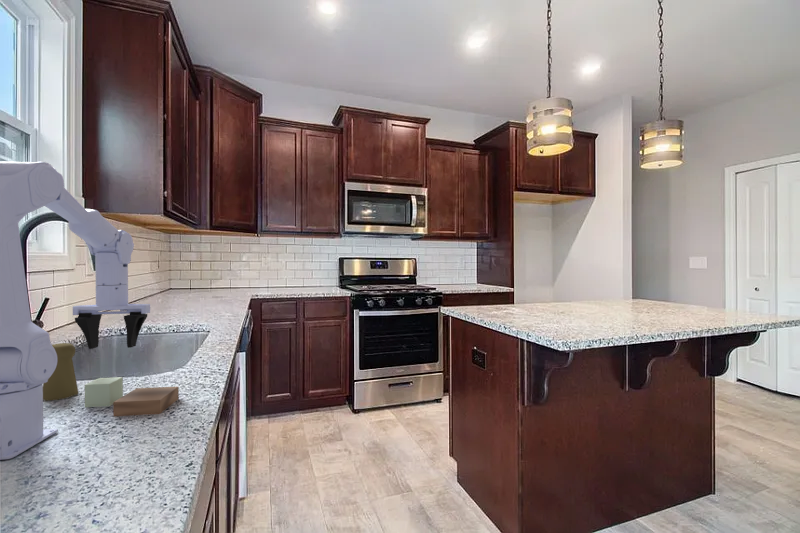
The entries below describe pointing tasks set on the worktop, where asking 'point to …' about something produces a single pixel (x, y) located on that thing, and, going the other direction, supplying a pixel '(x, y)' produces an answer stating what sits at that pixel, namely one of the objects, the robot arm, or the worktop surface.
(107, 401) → the sage cube
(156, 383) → the worktop surface
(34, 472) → the worktop surface
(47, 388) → the cork
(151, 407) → the walnut block
